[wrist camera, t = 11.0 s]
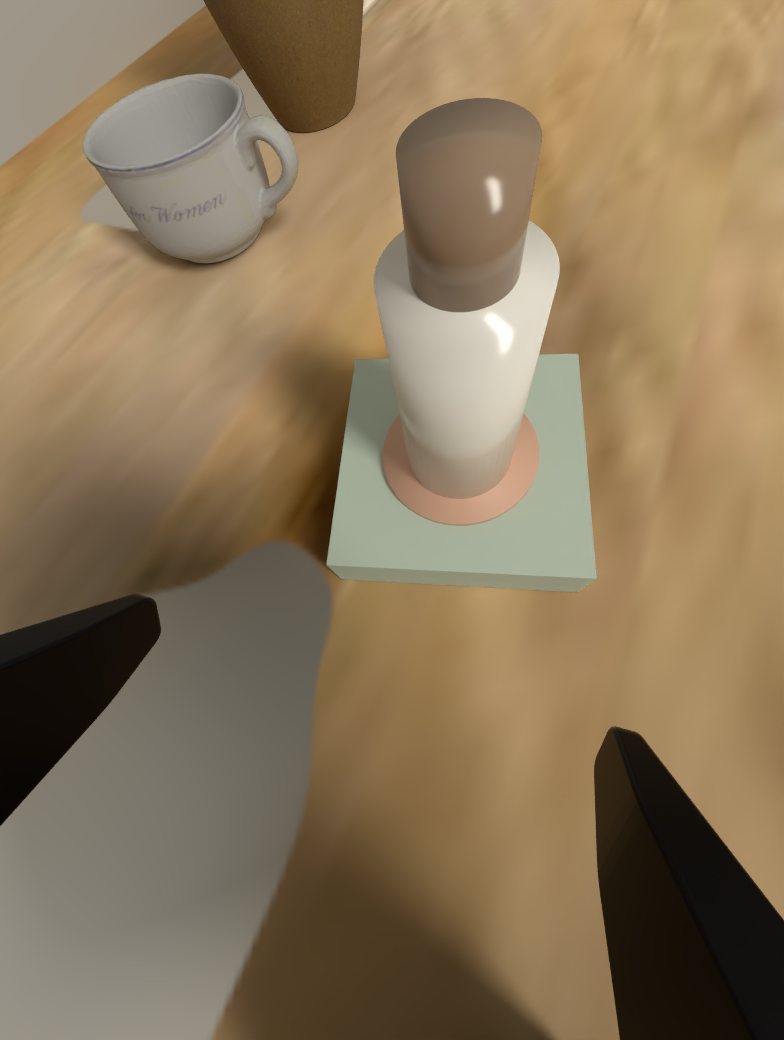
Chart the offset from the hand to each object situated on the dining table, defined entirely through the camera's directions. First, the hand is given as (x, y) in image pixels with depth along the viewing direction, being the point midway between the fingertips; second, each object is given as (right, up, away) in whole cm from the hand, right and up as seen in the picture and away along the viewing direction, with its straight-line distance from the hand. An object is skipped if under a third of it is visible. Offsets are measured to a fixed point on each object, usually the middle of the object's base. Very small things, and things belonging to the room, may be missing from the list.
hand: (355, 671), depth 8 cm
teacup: (-12, +25, +26) cm, 38 cm away
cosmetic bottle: (+4, +6, +13) cm, 15 cm away
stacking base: (+4, +5, +16) cm, 17 cm away
